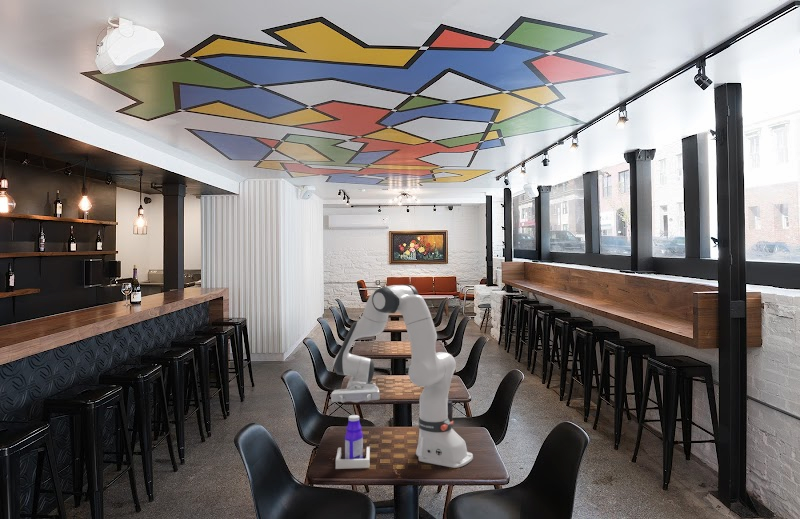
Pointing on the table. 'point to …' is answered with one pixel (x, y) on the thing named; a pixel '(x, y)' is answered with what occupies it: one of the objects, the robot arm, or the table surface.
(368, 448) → the bottle holder
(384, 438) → the table surface
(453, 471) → the table surface
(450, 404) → the camera lens
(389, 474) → the table surface
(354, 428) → the bottle
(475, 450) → the table surface
